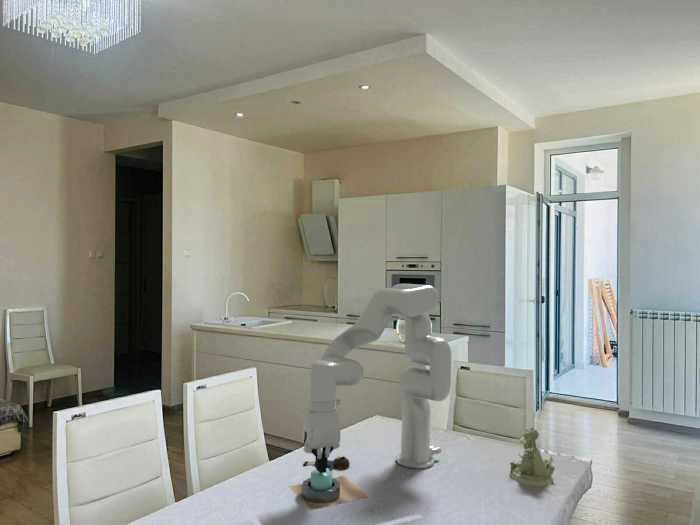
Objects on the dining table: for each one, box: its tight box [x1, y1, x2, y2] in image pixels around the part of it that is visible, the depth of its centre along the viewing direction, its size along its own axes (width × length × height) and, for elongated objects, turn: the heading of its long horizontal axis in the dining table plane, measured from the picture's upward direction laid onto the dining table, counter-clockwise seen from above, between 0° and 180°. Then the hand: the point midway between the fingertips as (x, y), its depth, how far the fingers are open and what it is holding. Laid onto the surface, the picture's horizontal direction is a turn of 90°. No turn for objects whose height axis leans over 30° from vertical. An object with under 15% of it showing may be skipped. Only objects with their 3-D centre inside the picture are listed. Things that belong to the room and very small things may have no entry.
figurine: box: [509, 427, 556, 487], centre depth 166 cm, size 14×13×15 cm
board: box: [289, 475, 371, 511], centre depth 151 cm, size 18×16×1 cm
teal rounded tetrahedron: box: [310, 469, 333, 490], centre depth 149 cm, size 6×6×6 cm
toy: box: [302, 455, 351, 472], centre depth 171 cm, size 14×5×15 cm
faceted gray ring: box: [301, 477, 340, 504], centre depth 149 cm, size 10×10×3 cm
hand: (321, 470), depth 148 cm, fingers closed
